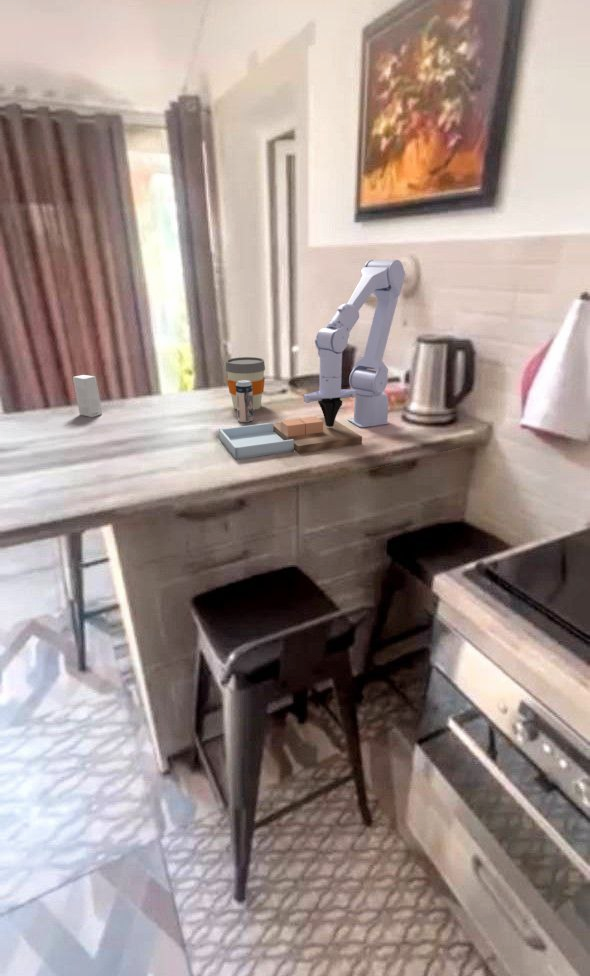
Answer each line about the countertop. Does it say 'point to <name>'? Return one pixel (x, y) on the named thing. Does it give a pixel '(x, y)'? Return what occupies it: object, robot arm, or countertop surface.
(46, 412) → the countertop surface
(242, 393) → the beer can
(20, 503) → the countertop surface
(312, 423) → the tile
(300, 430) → the tile
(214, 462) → the countertop surface
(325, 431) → the board
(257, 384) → the reusable coffee cup
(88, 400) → the skincare box
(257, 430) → the tray
